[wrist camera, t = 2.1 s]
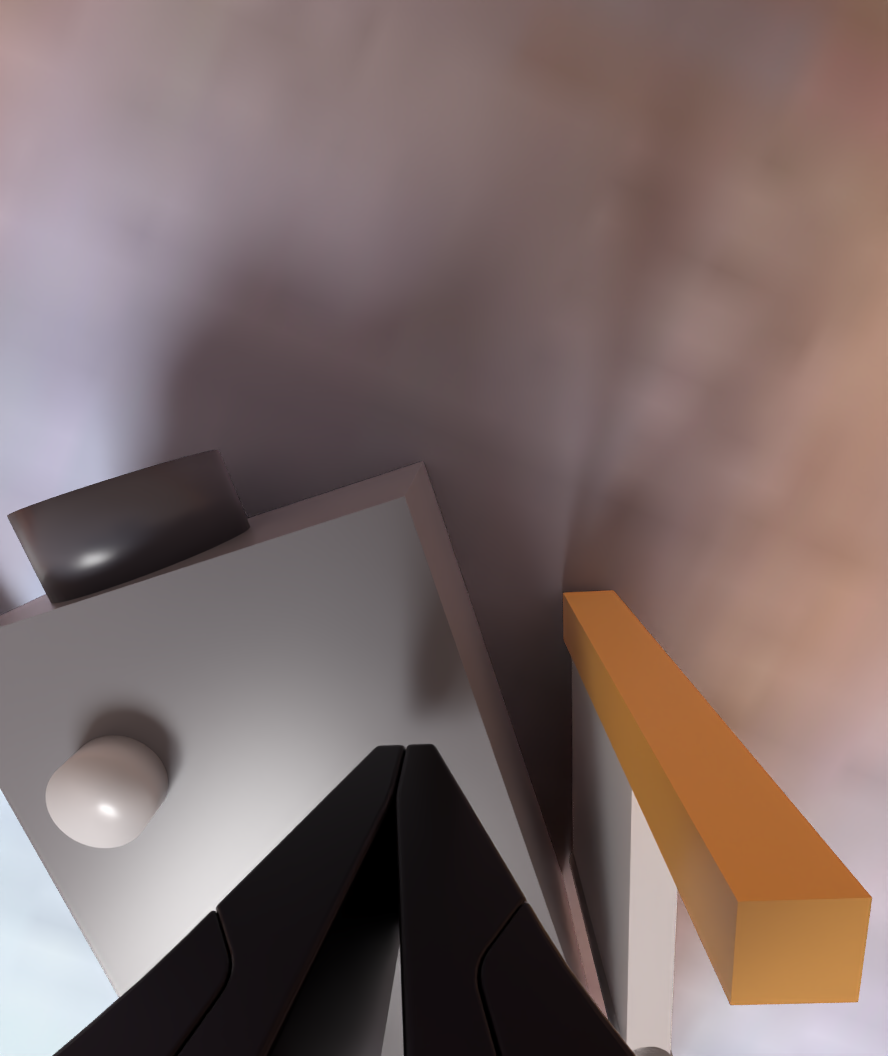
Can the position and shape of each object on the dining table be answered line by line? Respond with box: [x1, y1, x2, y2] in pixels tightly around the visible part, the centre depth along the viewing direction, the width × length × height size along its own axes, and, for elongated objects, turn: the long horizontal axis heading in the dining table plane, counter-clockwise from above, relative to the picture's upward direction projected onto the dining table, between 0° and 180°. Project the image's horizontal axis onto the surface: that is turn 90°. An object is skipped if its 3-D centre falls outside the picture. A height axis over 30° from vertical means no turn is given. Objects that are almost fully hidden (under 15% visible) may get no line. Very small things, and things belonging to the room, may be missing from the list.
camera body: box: [0, 450, 590, 1056], centre depth 12 cm, size 14×8×6 cm, turn 18°
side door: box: [563, 590, 872, 1056], centre depth 10 cm, size 8×1×8 cm, turn 3°
